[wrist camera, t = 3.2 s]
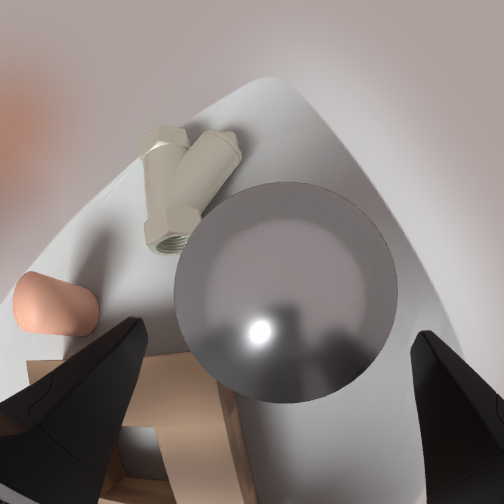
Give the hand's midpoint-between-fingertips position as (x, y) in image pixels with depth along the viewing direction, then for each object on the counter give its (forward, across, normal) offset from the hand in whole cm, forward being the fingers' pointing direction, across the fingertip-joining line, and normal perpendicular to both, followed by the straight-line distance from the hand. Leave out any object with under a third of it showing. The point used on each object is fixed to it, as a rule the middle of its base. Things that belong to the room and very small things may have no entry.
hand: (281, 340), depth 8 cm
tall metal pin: (+7, 0, +5) cm, 9 cm away
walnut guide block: (0, +8, +12) cm, 15 cm away
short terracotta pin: (+6, +14, +6) cm, 17 cm away
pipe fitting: (+13, +6, 0) cm, 14 cm away
